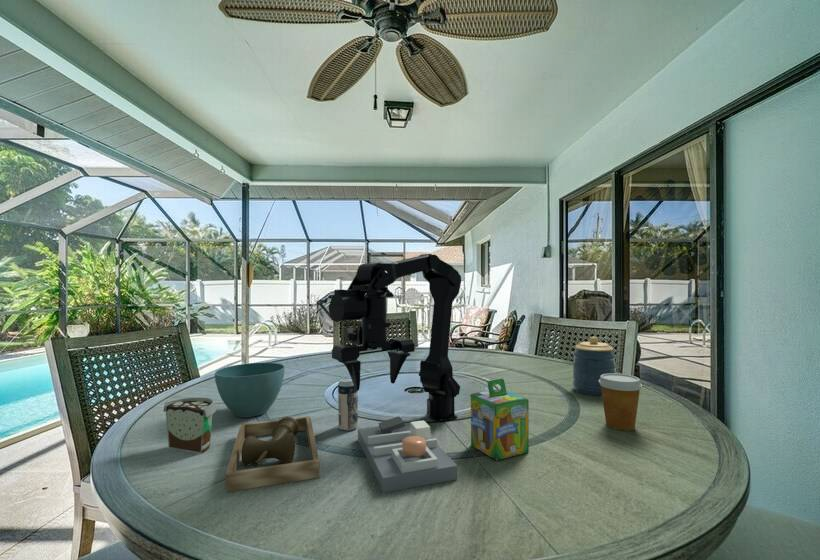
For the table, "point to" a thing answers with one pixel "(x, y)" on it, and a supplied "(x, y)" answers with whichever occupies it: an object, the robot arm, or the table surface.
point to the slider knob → (420, 429)
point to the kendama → (272, 444)
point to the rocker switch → (391, 424)
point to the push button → (414, 446)
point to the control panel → (404, 460)
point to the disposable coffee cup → (620, 400)
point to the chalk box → (499, 422)
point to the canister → (592, 365)
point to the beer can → (347, 405)
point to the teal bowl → (249, 387)
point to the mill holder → (270, 473)
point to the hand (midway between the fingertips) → (375, 386)
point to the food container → (189, 423)
